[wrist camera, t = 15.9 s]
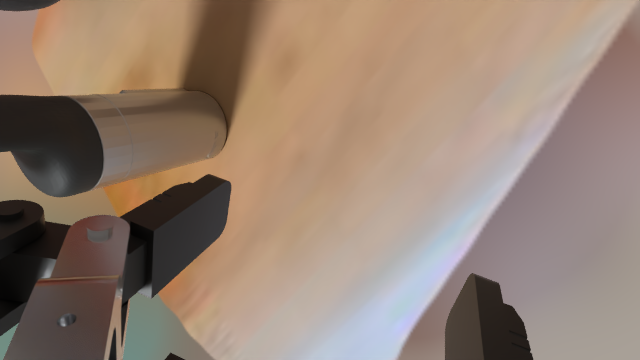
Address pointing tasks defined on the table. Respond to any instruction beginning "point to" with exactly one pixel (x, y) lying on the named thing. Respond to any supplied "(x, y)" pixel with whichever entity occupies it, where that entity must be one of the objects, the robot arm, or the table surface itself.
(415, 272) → the table surface
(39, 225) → the robot arm
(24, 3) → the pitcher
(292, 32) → the table surface
